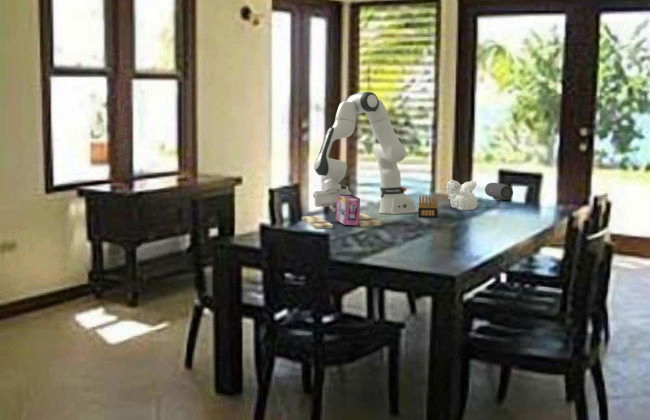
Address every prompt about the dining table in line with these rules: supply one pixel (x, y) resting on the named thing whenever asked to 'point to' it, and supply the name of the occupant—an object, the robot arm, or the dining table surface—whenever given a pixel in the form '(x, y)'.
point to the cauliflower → (462, 195)
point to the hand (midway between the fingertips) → (335, 211)
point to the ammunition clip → (428, 207)
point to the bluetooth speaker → (498, 191)
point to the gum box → (348, 209)
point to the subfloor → (321, 223)
